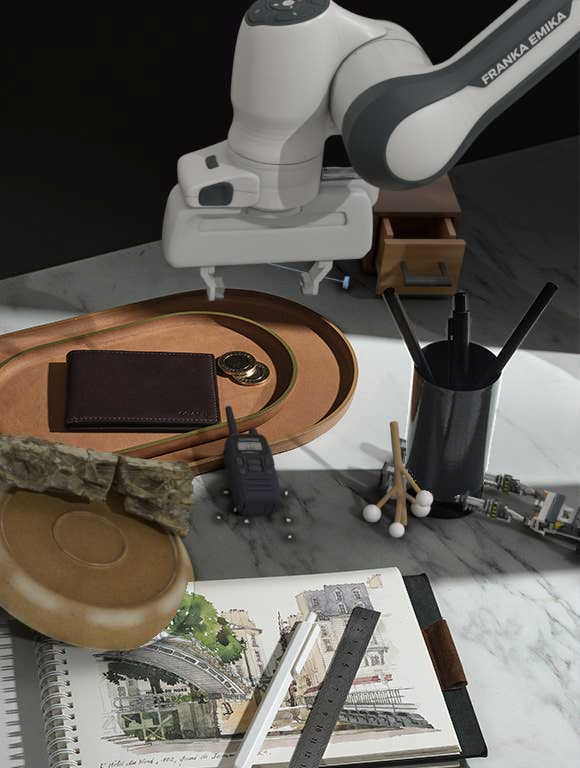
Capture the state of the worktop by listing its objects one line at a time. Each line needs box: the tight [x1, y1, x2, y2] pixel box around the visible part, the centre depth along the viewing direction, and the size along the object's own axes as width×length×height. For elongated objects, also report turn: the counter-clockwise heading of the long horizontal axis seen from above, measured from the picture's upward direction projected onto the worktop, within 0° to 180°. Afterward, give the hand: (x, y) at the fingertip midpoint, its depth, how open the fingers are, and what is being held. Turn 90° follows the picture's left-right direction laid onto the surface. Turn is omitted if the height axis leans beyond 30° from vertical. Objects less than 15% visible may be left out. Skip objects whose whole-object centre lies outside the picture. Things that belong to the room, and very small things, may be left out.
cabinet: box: [360, 172, 463, 274], centre depth 177 cm, size 16×12×10 cm
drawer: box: [373, 216, 467, 296], centre depth 170 cm, size 19×10×8 cm, turn 0°
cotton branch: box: [362, 420, 434, 539], centre depth 136 cm, size 7×6×12 cm
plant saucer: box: [0, 481, 195, 652], centre depth 127 cm, size 24×24×3 cm
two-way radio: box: [222, 405, 283, 517], centre depth 142 cm, size 6×4×15 cm
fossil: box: [0, 433, 196, 539], centre depth 128 cm, size 22×7×10 cm
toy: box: [378, 437, 580, 557], centre depth 136 cm, size 8×7×30 cm
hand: (261, 294), depth 127 cm, fingers open, 8 cm apart
